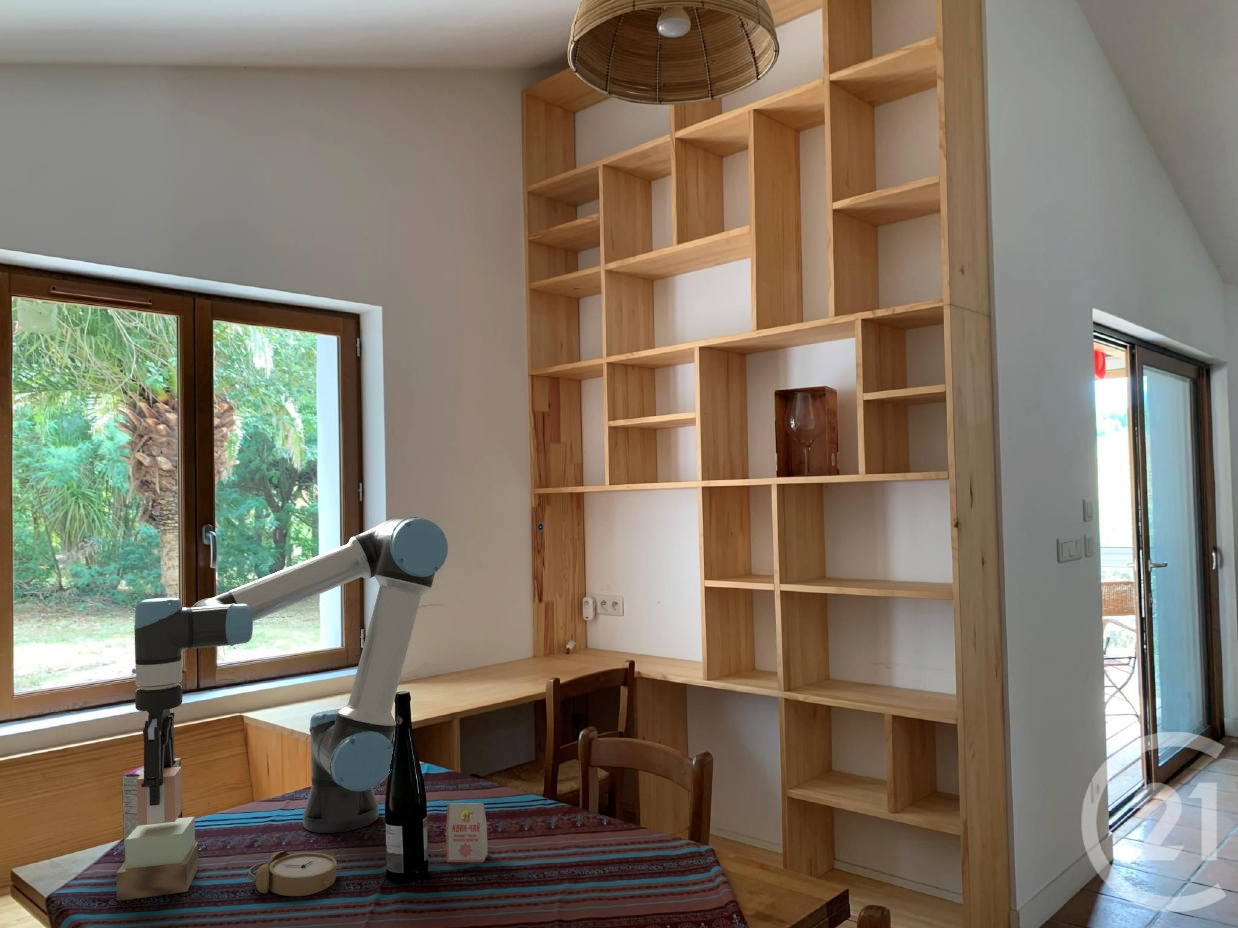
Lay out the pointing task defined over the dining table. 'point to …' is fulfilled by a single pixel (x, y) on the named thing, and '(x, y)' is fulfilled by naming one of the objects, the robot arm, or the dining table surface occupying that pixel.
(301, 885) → the alarm clock
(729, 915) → the dining table surface
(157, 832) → the tower upper
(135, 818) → the candy bar box
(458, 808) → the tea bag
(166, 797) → the block
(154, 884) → the tower lower
